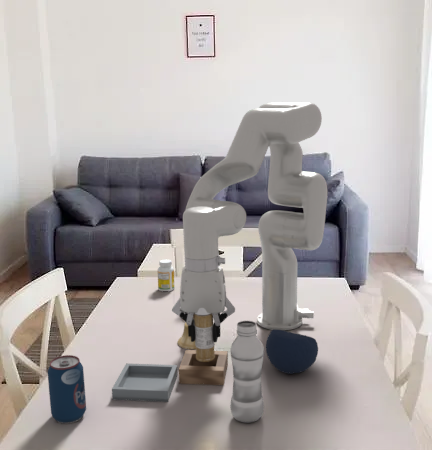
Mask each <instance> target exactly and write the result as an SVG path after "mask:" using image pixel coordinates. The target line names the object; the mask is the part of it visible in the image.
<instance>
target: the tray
mask: <svg viewBox="0 0 432 450" xmlns="http://www.w3.org/2000/svg"><path fill="white" fill-rule="evenodd" d="M178 377H179V368H178V364H159V363H158V364H155V363H151V364H150V363H129V362H128V363H126V364H124V366H123V368H122V370H121V372H120V373H119V375H118V377H117V378H116V381H115V383H114V384H113V386H112V387H111V397H112V400H113V401H114V400H116V401H135V402H136V401H141V402H161V403H162V402H164V403H165V402H167V403H168V402H169V400H170V398H171V395H172V392H173V389H174V387H175V384H176V380H177V378H178Z"/></svg>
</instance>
